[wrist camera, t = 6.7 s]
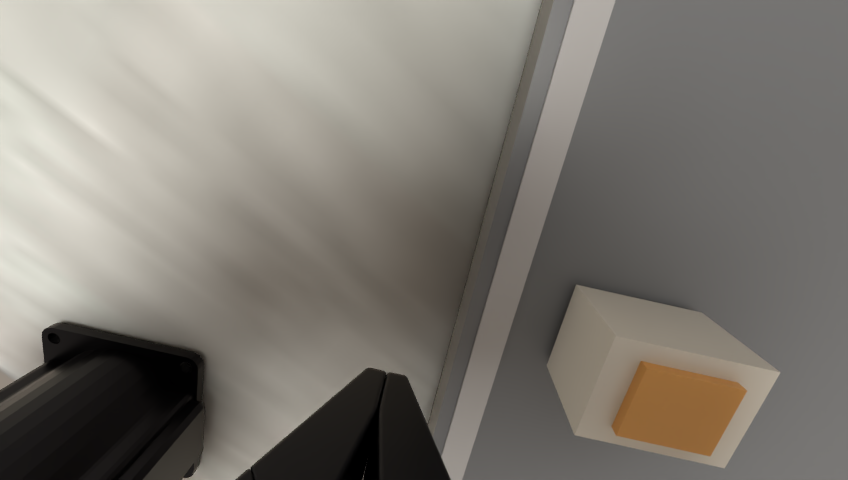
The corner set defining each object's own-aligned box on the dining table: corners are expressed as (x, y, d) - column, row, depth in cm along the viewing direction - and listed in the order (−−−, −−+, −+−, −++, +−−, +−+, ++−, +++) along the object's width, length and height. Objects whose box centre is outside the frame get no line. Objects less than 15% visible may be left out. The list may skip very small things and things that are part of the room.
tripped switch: (546, 365, 13) (578, 444, 10) (576, 284, 12) (621, 342, 9) (663, 391, 13) (732, 478, 10) (702, 312, 12) (791, 380, 9)
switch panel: (409, 493, 18) (395, 628, 13) (558, -61, 11) (638, -193, 7) (788, 576, 18) (910, 740, 13) (1154, 74, 11) (1655, 43, 7)
